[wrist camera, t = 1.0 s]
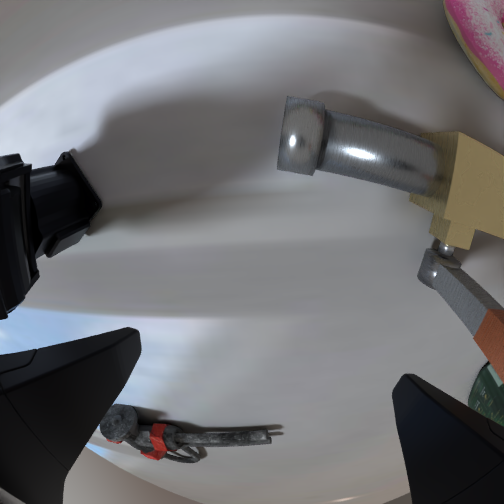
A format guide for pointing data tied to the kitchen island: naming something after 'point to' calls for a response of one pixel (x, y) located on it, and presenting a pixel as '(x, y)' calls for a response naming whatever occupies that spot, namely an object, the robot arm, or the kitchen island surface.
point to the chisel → (467, 304)
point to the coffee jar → (488, 395)
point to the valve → (169, 436)
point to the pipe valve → (402, 167)
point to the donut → (480, 36)
